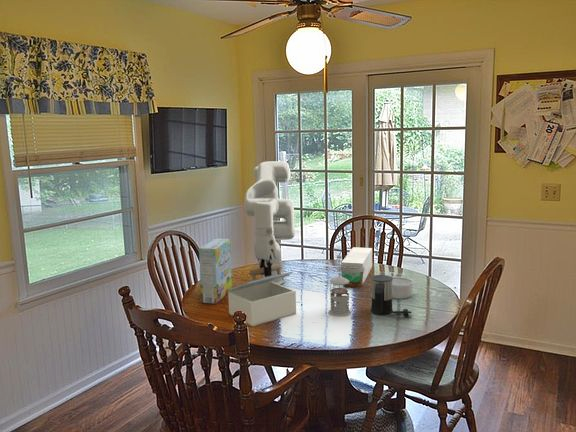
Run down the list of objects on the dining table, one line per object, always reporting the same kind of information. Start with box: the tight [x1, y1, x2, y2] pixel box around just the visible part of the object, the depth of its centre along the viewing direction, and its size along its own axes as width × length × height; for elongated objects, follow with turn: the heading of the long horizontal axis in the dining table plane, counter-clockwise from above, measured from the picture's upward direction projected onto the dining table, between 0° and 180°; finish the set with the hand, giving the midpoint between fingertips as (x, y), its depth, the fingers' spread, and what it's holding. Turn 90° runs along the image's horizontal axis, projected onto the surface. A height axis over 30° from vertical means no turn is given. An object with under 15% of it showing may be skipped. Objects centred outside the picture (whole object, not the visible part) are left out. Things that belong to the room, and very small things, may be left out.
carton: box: [227, 281, 297, 328], centre depth 215 cm, size 22×18×10 cm
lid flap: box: [228, 264, 294, 291], centre depth 214 cm, size 22×18×5 cm
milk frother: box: [370, 274, 412, 316], centre depth 211 cm, size 14×16×15 cm
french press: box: [327, 254, 352, 318], centre depth 214 cm, size 10×12×25 cm
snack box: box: [198, 238, 233, 305], centre depth 238 cm, size 22×9×26 cm, turn 168°
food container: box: [340, 264, 365, 289], centre depth 247 cm, size 12×6×10 cm, turn 68°
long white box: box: [340, 246, 373, 285], centre depth 268 cm, size 32×11×11 cm, turn 162°
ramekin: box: [392, 276, 414, 300], centre depth 234 cm, size 13×13×7 cm
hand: (265, 274), depth 210 cm, fingers closed on lid flap, 2 cm apart
